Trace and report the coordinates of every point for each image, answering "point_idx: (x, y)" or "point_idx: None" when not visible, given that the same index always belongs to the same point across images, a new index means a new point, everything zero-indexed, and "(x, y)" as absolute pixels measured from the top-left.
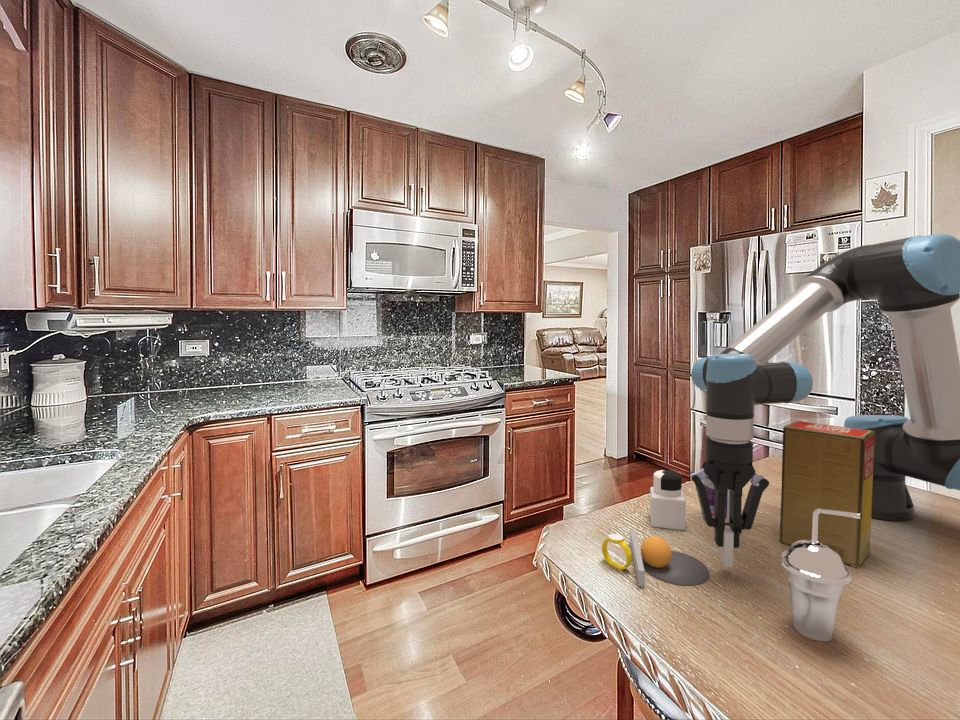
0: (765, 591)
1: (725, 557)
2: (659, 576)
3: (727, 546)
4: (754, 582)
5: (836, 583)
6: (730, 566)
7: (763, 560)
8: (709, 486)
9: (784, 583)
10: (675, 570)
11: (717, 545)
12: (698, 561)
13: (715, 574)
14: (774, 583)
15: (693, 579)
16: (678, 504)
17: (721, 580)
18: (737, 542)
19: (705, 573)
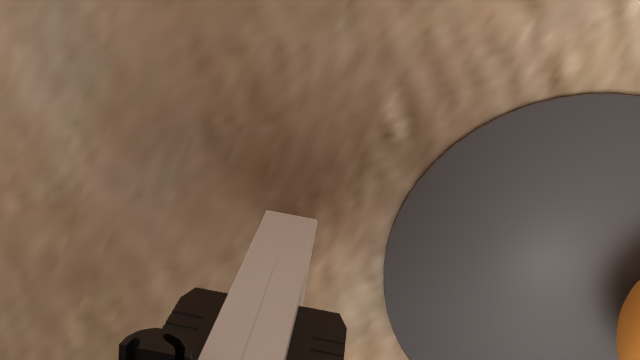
0: (157, 50)
1: (303, 246)
2: None
3: (277, 289)
4: (180, 136)
5: None
6: (280, 213)
7: (50, 331)
8: None
9: (25, 130)
10: (595, 239)
11: (339, 318)
12: (404, 323)
13: (363, 210)
14: (76, 129)
15: (533, 148)
16: None
17: (358, 152)
18: (185, 316)
19: (425, 209)
